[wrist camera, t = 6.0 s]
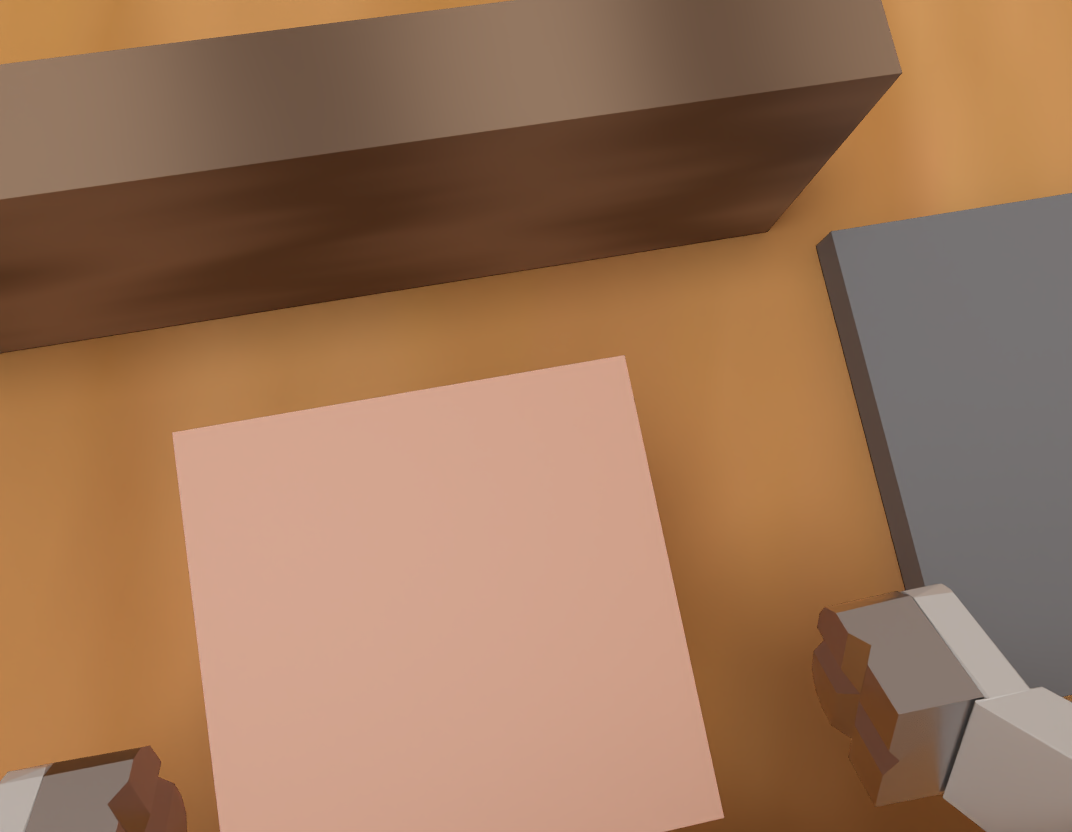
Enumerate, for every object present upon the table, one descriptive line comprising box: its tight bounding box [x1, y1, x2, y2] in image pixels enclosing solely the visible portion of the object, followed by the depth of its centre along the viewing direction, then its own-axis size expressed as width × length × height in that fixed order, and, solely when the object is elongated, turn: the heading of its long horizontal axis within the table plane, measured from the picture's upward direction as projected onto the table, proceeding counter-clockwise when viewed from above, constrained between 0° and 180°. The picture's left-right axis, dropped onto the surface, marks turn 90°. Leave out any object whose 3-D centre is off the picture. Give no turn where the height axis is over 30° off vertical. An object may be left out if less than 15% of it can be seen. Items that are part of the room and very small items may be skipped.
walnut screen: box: [0, 0, 902, 353], centre depth 15 cm, size 18×2×6 cm, turn 101°
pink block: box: [172, 355, 724, 832], centre depth 13 cm, size 5×5×8 cm
